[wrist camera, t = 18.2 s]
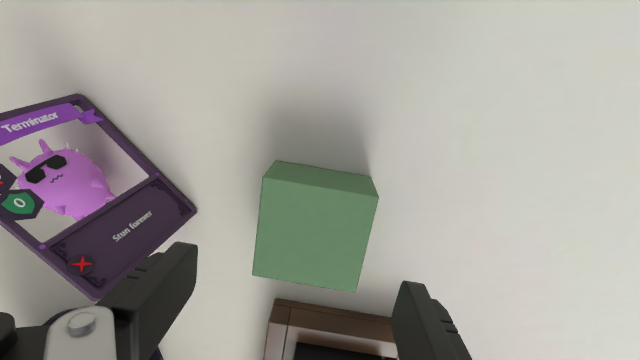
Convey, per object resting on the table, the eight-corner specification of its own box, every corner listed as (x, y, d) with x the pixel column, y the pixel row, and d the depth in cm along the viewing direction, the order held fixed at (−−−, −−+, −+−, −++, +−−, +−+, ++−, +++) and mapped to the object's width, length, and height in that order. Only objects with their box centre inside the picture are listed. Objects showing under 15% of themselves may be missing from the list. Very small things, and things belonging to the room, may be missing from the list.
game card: (103, 297, 12) (-99, 127, 10) (70, 322, 15) (-94, 192, 13) (204, 206, 18) (84, 83, 16) (166, 237, 21) (60, 136, 19)
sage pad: (371, 176, 17) (379, 196, 14) (352, 259, 19) (355, 293, 16) (275, 159, 17) (262, 176, 14) (264, 244, 19) (251, 275, 16)
